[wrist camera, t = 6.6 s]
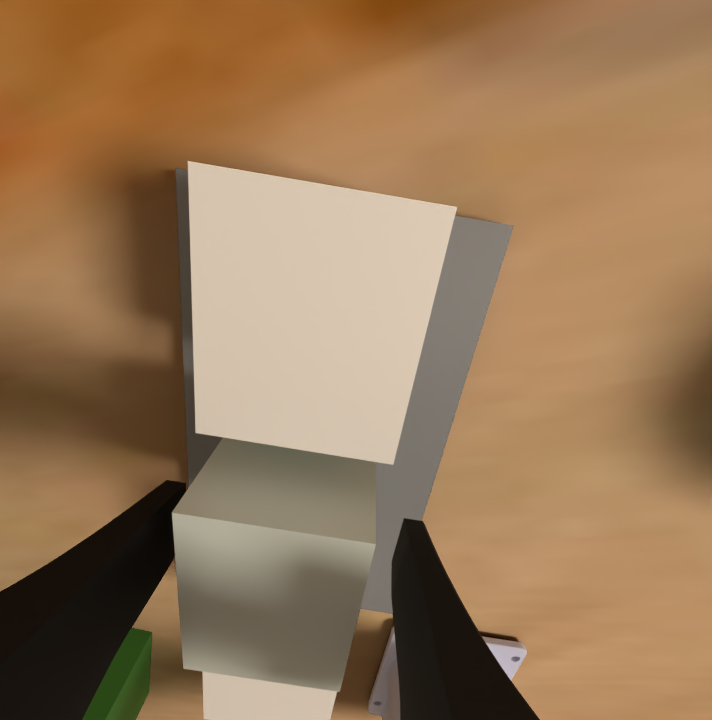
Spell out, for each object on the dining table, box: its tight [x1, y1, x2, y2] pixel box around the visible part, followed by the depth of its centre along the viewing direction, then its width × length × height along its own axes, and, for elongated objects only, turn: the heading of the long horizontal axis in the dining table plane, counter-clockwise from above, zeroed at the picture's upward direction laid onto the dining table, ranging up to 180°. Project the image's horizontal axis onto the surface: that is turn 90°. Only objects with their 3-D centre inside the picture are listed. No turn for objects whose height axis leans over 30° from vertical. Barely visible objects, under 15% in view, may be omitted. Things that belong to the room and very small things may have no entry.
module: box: [172, 437, 376, 692], centre depth 12 cm, size 6×5×6 cm
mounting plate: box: [175, 161, 514, 720], centre depth 13 cm, size 20×11×6 cm, turn 171°
